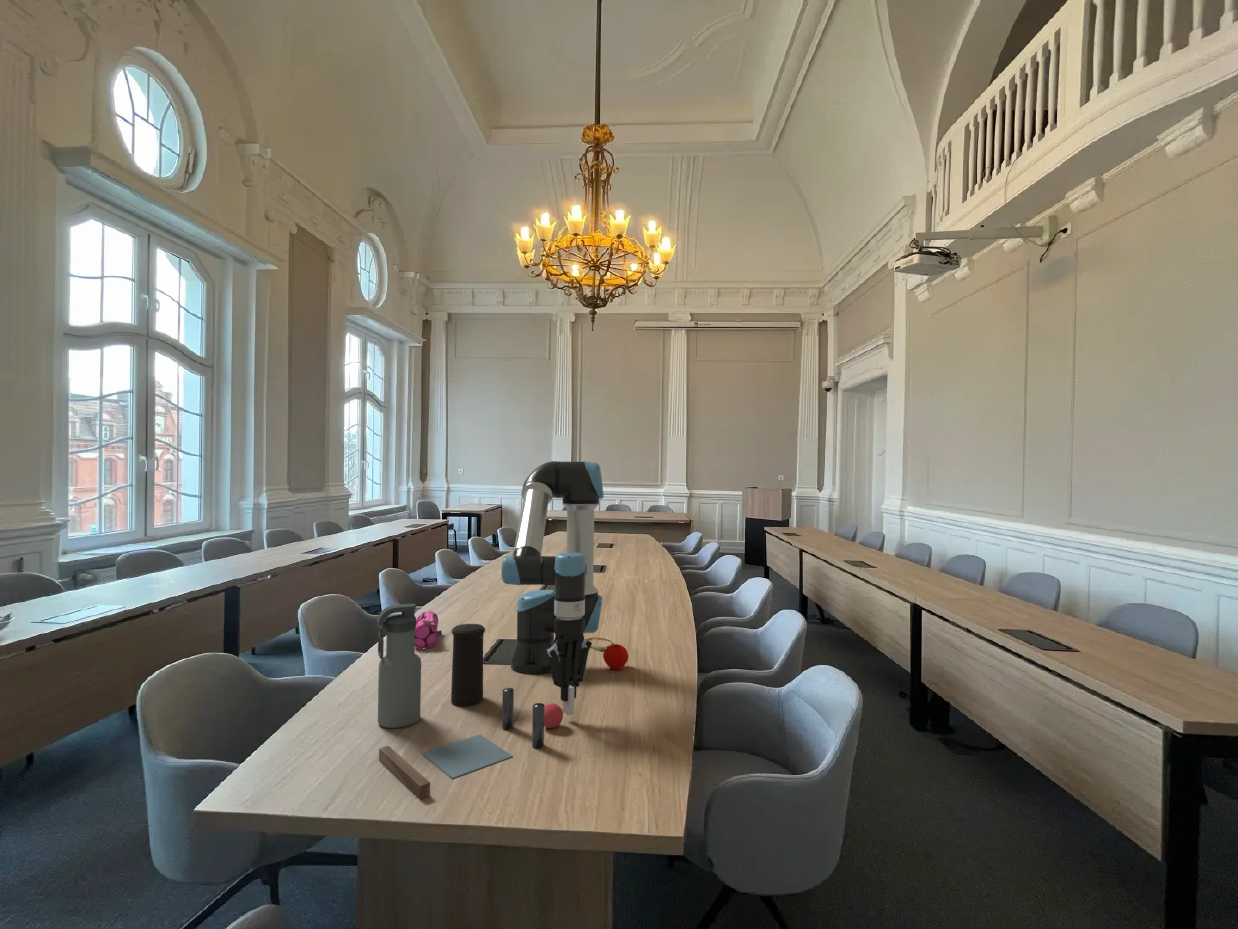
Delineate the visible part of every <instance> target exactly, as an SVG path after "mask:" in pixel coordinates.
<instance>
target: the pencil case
mask: <svg viewBox="0 0 1238 929" xmlns="http://www.w3.org/2000/svg"><path fill="white" fill-rule="evenodd" d="M438 626H439V617H438V614H437V613H436V612H434V611H432V610H428V611H427V610H426V611H424V612H421V613H420V614H419V615H418V616H417V617H416V630H415V648H416V649H418V650H424V649H423V648H428V649H431V648H432V647H434V646H435V645H436V643H437V641H438V637H440V636H442V635H443V634H442V633H443V632H442V630H438Z"/></svg>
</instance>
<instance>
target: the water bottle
mask: <svg viewBox="0 0 1238 929" xmlns="http://www.w3.org/2000/svg"><path fill="white" fill-rule="evenodd" d="M415 610H417V604H415V603H401V604H392V605H389V606H387V607H384V608H383V609H382V610H381V611H380V613H379V614H378V617H377V620H376V625H377V628H378V638H377V642H378V643H377V654H378V657H379V659H380V661H379V663H378V682H377V683H378V687H377V691H378V692H377V693H378V694H377V723H378V724H379V725H380V726H381V727H384V728H387V729H401V727H402V728H405V727H408V726H409V727H410V726H412V725H413V724H416V723H417V722H418V721H419V719H420V717H421V697H422V696H421V695H422V694H421V693H422V692H421V691H422V690H421V689H422V658H421V657H420V656H419V655H418V654H417V653H415V648H416V647H415V630H416V619H417V617H416V615H415V614H416V613H415ZM396 613H399V614H396ZM392 614H395V615H392ZM384 629H385V633H386V637H385V639H386V641H384ZM384 642H385V643H386V644H385V647H384ZM384 648H386V649H385V650H386V652H385V653H386V654H385V656H384ZM411 724H412V725H411Z"/></svg>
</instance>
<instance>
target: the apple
mask: <svg viewBox="0 0 1238 929" xmlns="http://www.w3.org/2000/svg"><path fill="white" fill-rule="evenodd" d="M607 646H608V647H607ZM607 646H606V648H605V651H603V654H602V658H603V661H604V663H605V664H606V666H607V667H608V668H609V669H612V670H615V671H619V670H621V669H623V668H624V666H626V664H627V663H628V660H629V652H628V650H627V648H626V647H624V646H623V645H621V644H619V643H618V644H617V643H613V645H610V646H609V645H607Z"/></svg>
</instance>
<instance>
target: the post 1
mask: <svg viewBox="0 0 1238 929" xmlns="http://www.w3.org/2000/svg"><path fill="white" fill-rule="evenodd" d="M514 693H515V692H514V688H513V687H505V688H503V689H502V703H501V704H502V705H501V706H502V712H501V713H502V716H501V717H502V720H501V724H502V725H501V729H502V730H503V731H510V730H512V729H514V704H515V702H514V695H515V694H514Z"/></svg>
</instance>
